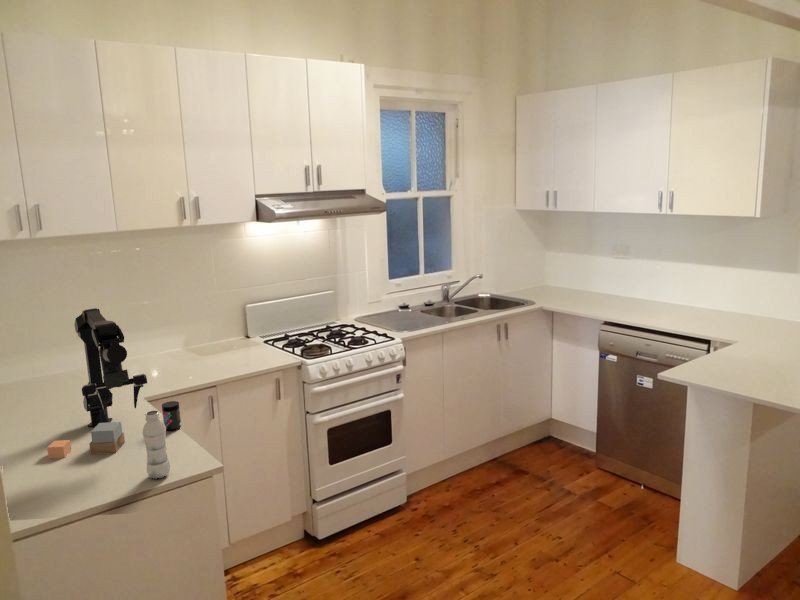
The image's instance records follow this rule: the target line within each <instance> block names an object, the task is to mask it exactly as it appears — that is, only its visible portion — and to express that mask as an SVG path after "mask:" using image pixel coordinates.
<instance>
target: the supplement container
mask: <svg viewBox="0 0 800 600" xmlns="http://www.w3.org/2000/svg"><path fill="white" fill-rule="evenodd" d="M161 410H162V411H161V412H162V420H163V421H162V422H163V423H164V425H165V427H166V430H167V431H166V432H175V431H177V430H176V429H178V430H180V429H181V428H182V419H181V418H182V417H181V410H180V402H179V401H178V400H177V401H176V400H174V401H173V400H172V401H166V402H163V403H162V404H161ZM174 430H175V431H174Z"/></svg>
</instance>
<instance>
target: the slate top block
mask: <svg viewBox="0 0 800 600" xmlns="http://www.w3.org/2000/svg"><path fill="white" fill-rule="evenodd" d="M122 432H123V427H122V421H113V422H112V421H110V422H108V423H99V424H98V425H97V426H96V427H94V428H93V429H92V430H91V431H90V435H91V436H90V437H91V442H92V443H106V442H115V441H116V440H117V439H118V438H119V437H120V435H121V434H122Z"/></svg>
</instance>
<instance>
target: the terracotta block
mask: <svg viewBox="0 0 800 600" xmlns="http://www.w3.org/2000/svg"><path fill="white" fill-rule="evenodd" d="M46 450H47V456H48V459H49V458H52V459H64V458H63V457H65V458H66V457H68V455H69V454H70V453H71V452H72V451H73V449H72V443H71V440H70V439H66V440H65V439H63V440H53V442H51V443H49V445H48V446H47V447H46ZM71 450H72V451H71ZM67 454H68V455H67Z"/></svg>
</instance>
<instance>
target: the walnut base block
mask: <svg viewBox="0 0 800 600" xmlns="http://www.w3.org/2000/svg"><path fill="white" fill-rule="evenodd" d="M125 443H126V439H125V432H123V431H122V434H121V435H120V437H119V438H118V439H117V440H116V441H115V442H106V443H92V441H91V442H90V443H89V453H90V455H98V454H97V453H108V454H117V453H118V452H119V451H120V449H121V448H122V446H123V445H124V444H125ZM116 452H117V453H116Z"/></svg>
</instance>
